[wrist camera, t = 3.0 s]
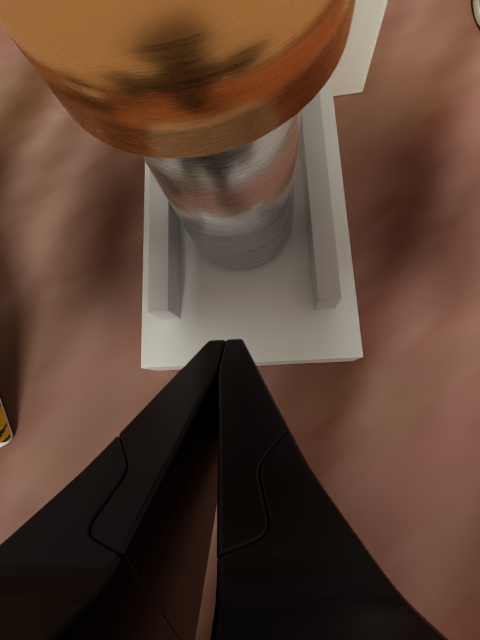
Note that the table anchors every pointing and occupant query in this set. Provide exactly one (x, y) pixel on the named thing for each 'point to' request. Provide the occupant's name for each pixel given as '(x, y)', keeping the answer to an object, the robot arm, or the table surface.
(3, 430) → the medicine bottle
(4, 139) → the table surface
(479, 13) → the coffee can
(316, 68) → the knob
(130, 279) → the table surface
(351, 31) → the knob mount
